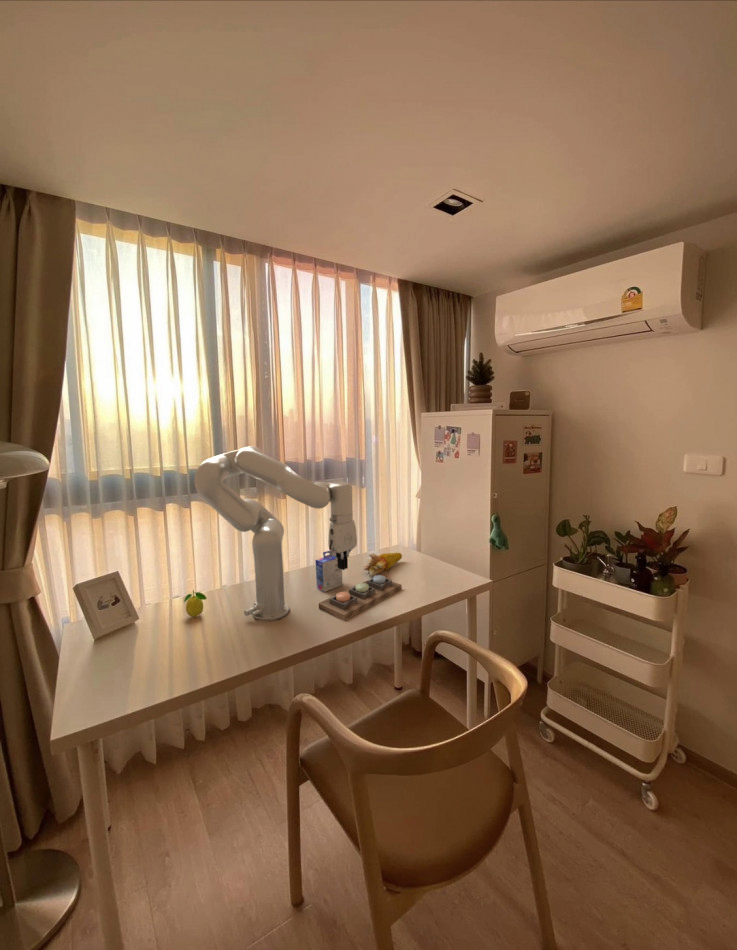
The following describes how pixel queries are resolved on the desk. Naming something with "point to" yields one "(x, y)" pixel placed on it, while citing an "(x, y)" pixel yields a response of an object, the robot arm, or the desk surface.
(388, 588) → the button panel
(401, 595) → the desk surface
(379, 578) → the button slate
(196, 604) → the lemon
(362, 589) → the button sage
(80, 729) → the desk surface
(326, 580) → the ink cartridge box
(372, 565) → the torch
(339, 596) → the button terracotta
